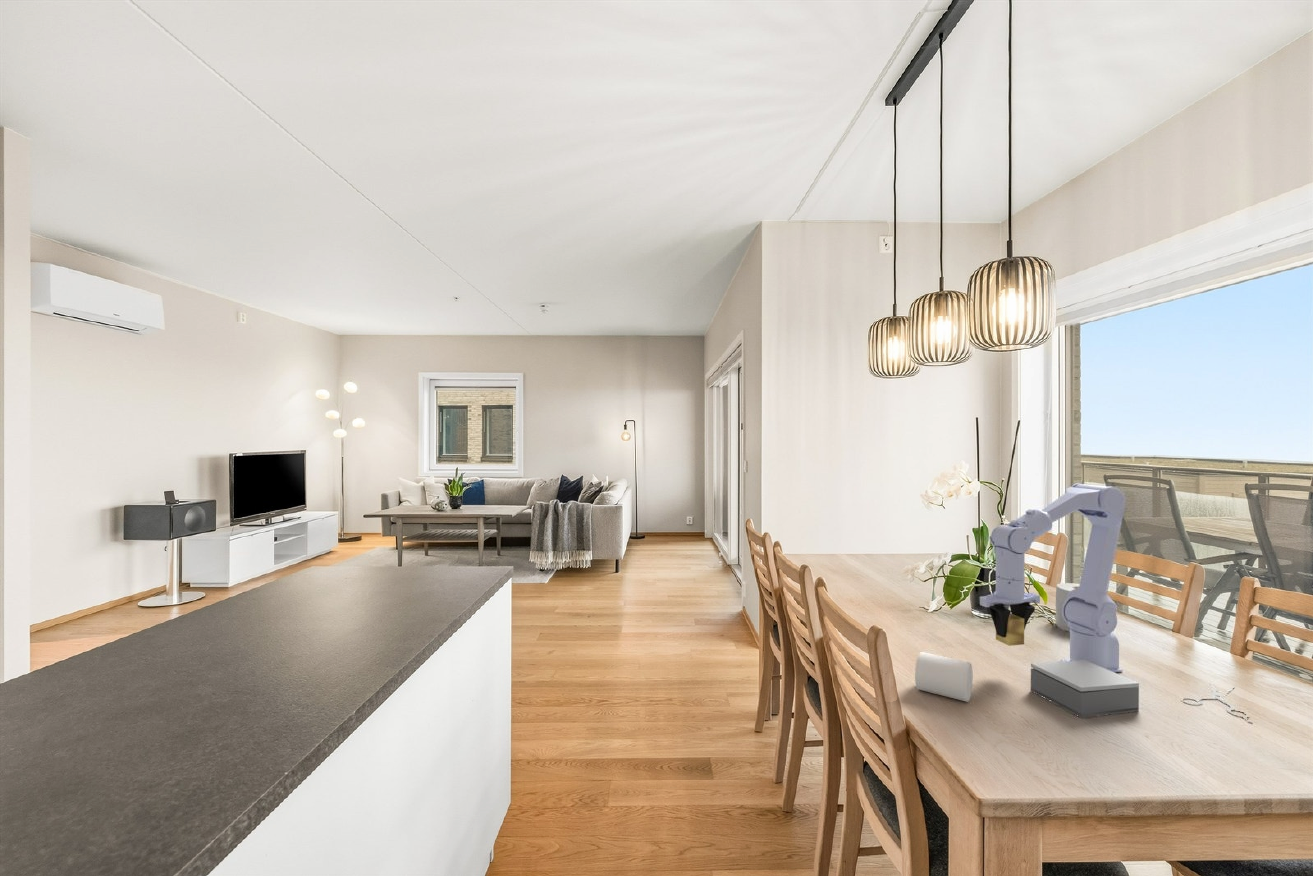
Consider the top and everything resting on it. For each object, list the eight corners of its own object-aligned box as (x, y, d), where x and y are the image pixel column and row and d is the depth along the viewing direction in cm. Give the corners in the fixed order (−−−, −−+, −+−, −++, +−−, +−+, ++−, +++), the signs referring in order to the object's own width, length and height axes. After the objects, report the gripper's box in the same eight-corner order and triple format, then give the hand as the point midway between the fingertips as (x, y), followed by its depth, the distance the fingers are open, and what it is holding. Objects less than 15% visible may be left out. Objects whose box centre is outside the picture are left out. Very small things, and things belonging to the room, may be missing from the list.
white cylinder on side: (966, 708, 118) (966, 669, 118) (914, 694, 124) (914, 658, 124) (976, 687, 127) (976, 652, 127) (927, 675, 133) (927, 642, 133)
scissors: (1178, 703, 119) (1190, 674, 132) (1178, 707, 119) (1190, 678, 132) (1252, 722, 111) (1256, 690, 124) (1252, 726, 111) (1256, 693, 124)
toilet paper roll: (1059, 631, 162) (1059, 591, 162) (1052, 619, 172) (1052, 581, 172) (1112, 638, 156) (1112, 596, 156) (1101, 625, 167) (1101, 585, 167)
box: (1084, 685, 128) (1084, 663, 128) (1138, 711, 116) (1138, 687, 116) (1030, 691, 125) (1030, 668, 125) (1080, 718, 113) (1081, 693, 113)
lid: (1084, 663, 128) (1084, 659, 128) (1138, 687, 116) (1138, 683, 116) (1030, 667, 125) (1030, 663, 125) (1081, 691, 113) (1081, 687, 113)
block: (1010, 638, 136) (1010, 613, 136) (1024, 644, 132) (1024, 618, 132) (995, 639, 135) (995, 614, 135) (1009, 645, 131) (1009, 619, 131)
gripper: (1022, 571, 138) (1022, 627, 139) (970, 574, 136) (970, 631, 136) (1047, 579, 131) (1047, 637, 132) (993, 582, 129) (992, 642, 129)
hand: (1009, 635), depth 133 cm, fingers closed on block, 4 cm apart
